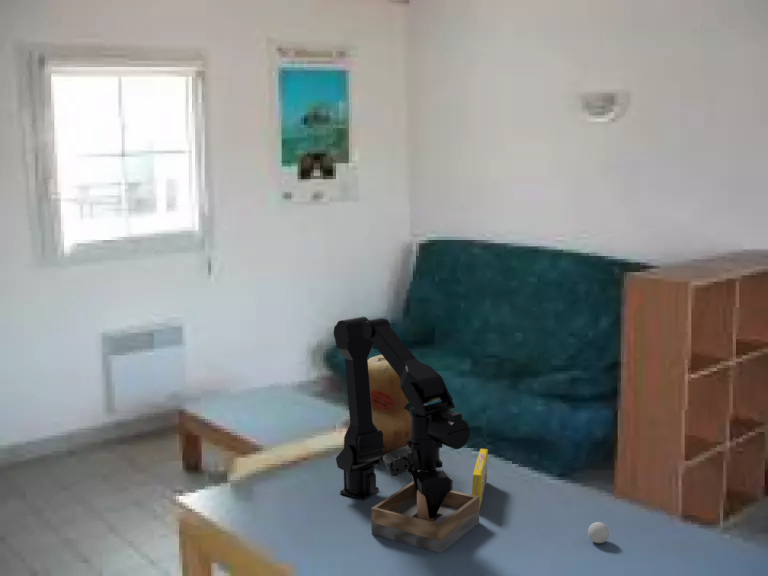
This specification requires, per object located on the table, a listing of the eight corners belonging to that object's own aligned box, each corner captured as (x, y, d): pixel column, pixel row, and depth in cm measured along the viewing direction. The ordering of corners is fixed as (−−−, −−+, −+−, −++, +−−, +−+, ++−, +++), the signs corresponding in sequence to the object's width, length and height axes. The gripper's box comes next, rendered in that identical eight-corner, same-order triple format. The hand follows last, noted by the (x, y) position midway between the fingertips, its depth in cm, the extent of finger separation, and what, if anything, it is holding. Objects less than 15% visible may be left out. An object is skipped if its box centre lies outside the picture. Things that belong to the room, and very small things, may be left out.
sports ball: (604, 548, 175) (605, 529, 175) (584, 543, 177) (585, 524, 177) (611, 540, 179) (612, 521, 178) (591, 536, 181) (592, 517, 180)
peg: (414, 529, 185) (413, 492, 184) (422, 523, 188) (422, 486, 186) (428, 533, 183) (428, 495, 182) (437, 526, 186) (436, 489, 184)
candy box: (481, 512, 193) (481, 475, 191) (471, 511, 193) (471, 474, 192) (488, 482, 208) (488, 448, 207) (478, 482, 209) (478, 447, 207)
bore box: (371, 533, 183) (371, 508, 182) (412, 505, 196) (412, 481, 195) (440, 553, 175) (440, 526, 174) (479, 522, 188) (479, 497, 187)
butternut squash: (352, 462, 222) (350, 363, 217) (363, 443, 235) (360, 349, 230) (409, 465, 219) (407, 364, 215) (416, 445, 232) (415, 350, 228)
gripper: (376, 423, 189) (377, 494, 192) (396, 455, 171) (397, 532, 174) (428, 419, 191) (428, 489, 194) (453, 449, 173) (453, 526, 176)
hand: (425, 508), depth 185 cm, fingers open, 9 cm apart
